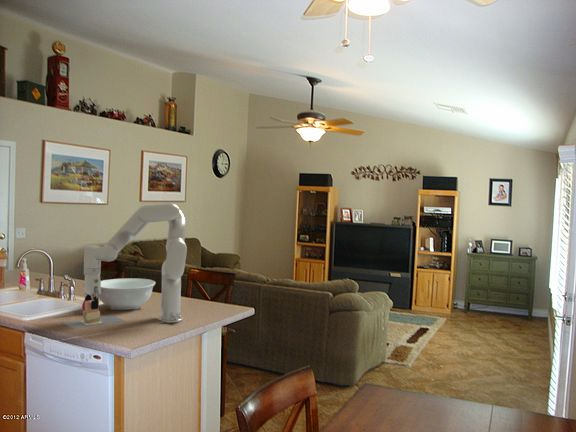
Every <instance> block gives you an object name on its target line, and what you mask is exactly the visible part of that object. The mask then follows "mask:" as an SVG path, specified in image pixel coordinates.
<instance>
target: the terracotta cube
mask: <svg viewBox="0 0 576 432" xmlns="http://www.w3.org/2000/svg"><path fill="white" fill-rule="evenodd" d="M91 301H92V300H90V301H85V312H87V313H95V312H100V301H98V309H91Z"/></svg>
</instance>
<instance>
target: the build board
mask: <svg viewBox="0 0 576 432" xmlns="http://www.w3.org/2000/svg"><path fill="white" fill-rule="evenodd" d="M122 322H125V319H124V320H123V319H122V318H120V317H118V316H116V315H107V316H100V322H98V323H91V324H86V323H85V322H83V319H78V320H77V319H76V320H69V321H62V323H63V324H64V325H66V326H67V327H69V328H70V329H72V330H73V329H81V328H89V327H94V326H100V325H107V324H115V323H116V324H117V323H122Z"/></svg>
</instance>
